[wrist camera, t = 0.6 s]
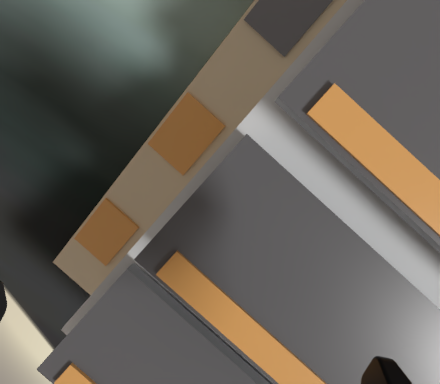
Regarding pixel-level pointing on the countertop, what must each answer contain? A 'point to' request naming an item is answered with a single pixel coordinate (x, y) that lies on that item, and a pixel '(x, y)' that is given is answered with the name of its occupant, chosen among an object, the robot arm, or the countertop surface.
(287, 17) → the switch unit
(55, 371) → the switch
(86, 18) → the countertop surface
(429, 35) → the switch
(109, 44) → the countertop surface
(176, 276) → the switch middle
